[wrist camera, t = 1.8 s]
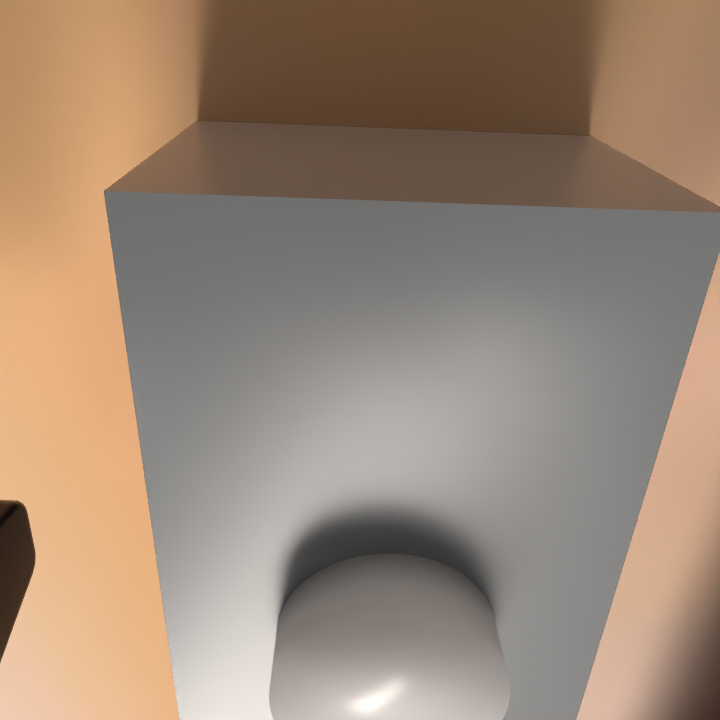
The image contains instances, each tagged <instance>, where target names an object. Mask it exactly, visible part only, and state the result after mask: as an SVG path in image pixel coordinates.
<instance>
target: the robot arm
mask: <svg viewBox="0 0 720 720" xmlns="http://www.w3.org/2000/svg"><path fill="white" fill-rule="evenodd" d="M34 566H35V548H34V543H33V538H32V533H31V528H30V523H29V518H28V513H27V510H26V507H25V506H24V504H23V503H21V502H19V501H13V500H0V662H1V659H2V656H3V654H4V651H5V648H6V645H7V643H8V640H9V637H10V634H11V632H12V629H13V626H14V623H15V621H16V618H17V615H18V612H19V610H20V607H21V604H22V601H23V599H24V596H25V593H26V590H27V588H28V585H29V582H30V579H31V577H32V574H33V570H34Z"/></svg>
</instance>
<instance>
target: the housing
mask: <svg viewBox="0 0 720 720" xmlns="http://www.w3.org/2000/svg"><path fill="white" fill-rule="evenodd" d="M104 196H105V203H106V210H107V217H108V224H109V231H110V238H111V245H112V252H113V259H114V266H115V273H116V280H117V287H118V294H119V301H120V308H121V315H122V322H123V329H124V336H125V343H126V350H127V357H128V364H129V371H130V378H131V385H132V392H133V399H134V406H135V413H136V420H137V427H138V434H139V441H140V448H141V455H142V462H143V469H144V476H145V483H146V490H147V497H148V504H149V511H150V518H151V525H152V532H153V539H154V546H155V553H156V560H157V567H158V574H159V581H160V588H161V595H162V602H163V609H164V616H165V623H166V630H167V637H168V644H169V651H170V658H171V665H172V672H173V679H174V686H175V693H176V700H177V707H178V714H179V720H576V718H577V715H578V712H579V709H580V705H581V702H582V699H583V696H584V692H585V689H586V686H587V682H588V679H589V676H590V673H591V669H592V666H593V663H594V660H595V656H596V653H597V650H598V646H599V643H600V640H601V637H602V633H603V630H604V627H605V624H606V620H607V617H608V614H609V611H610V607H611V604H612V601H613V597H614V594H615V591H616V588H617V584H618V581H619V578H620V575H621V571H622V568H623V565H624V561H625V558H626V555H627V552H628V548H629V545H630V542H631V539H632V535H633V532H634V529H635V525H636V522H637V519H638V516H639V512H640V509H641V506H642V503H643V499H644V496H645V493H646V490H647V486H648V483H649V480H650V476H651V473H652V470H653V467H654V463H655V460H656V457H657V454H658V450H659V447H660V444H661V440H662V437H663V434H664V431H665V427H666V424H667V421H668V418H669V414H670V411H671V408H672V404H673V401H674V398H675V395H676V391H677V388H678V385H679V382H680V378H681V375H682V372H683V368H684V365H685V362H686V359H687V355H688V352H689V349H690V346H691V342H692V339H693V336H694V333H695V329H696V326H697V323H698V319H699V316H700V313H701V310H702V306H703V303H704V300H705V297H706V293H707V290H708V287H709V283H710V280H711V277H712V274H713V270H714V267H715V264H716V261H717V257H718V254H719V251H720V207H719V206H717V205H715V204H713V203H712V202H710V201H708V200H706V199H704V198H702V197H701V196H699V195H697V194H695V193H693V192H692V191H690V190H688V189H686V188H684V187H682V186H681V185H679V184H677V183H675V182H673V181H671V180H670V179H668V178H666V177H664V176H662V175H661V174H659V173H657V172H655V171H653V170H651V169H650V168H648V167H646V166H644V165H642V164H640V163H639V162H637V161H635V160H633V159H631V158H629V157H628V156H626V155H624V154H622V153H620V152H619V151H617V150H615V149H613V148H611V147H609V146H608V145H606V144H604V143H602V142H600V141H598V140H597V139H595V138H593V137H591V136H585V135H559V134H533V133H507V132H481V131H455V130H429V129H403V128H377V127H352V126H326V125H300V124H274V123H248V122H222V121H196V122H195V123H194V124H192V125H191V126H190V127H188V128H187V129H186V130H184V131H183V132H182V133H180V134H179V135H178V136H176V137H175V138H174V139H172V140H171V141H170V142H168V143H167V144H166V145H164V146H163V147H162V148H160V149H159V150H158V151H156V152H155V153H154V154H152V155H151V156H150V157H148V158H147V159H146V160H144V161H143V162H142V163H140V164H139V165H138V166H136V167H135V168H134V169H132V170H131V171H130V172H128V173H127V174H126V175H124V176H123V177H122V178H120V179H119V180H118V181H116V182H115V183H114V184H112V185H111V186H110V187H109V188H107V189H106V190H105V191H104Z"/></svg>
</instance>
